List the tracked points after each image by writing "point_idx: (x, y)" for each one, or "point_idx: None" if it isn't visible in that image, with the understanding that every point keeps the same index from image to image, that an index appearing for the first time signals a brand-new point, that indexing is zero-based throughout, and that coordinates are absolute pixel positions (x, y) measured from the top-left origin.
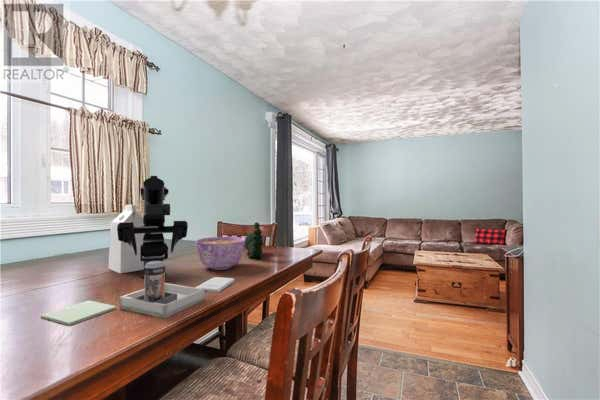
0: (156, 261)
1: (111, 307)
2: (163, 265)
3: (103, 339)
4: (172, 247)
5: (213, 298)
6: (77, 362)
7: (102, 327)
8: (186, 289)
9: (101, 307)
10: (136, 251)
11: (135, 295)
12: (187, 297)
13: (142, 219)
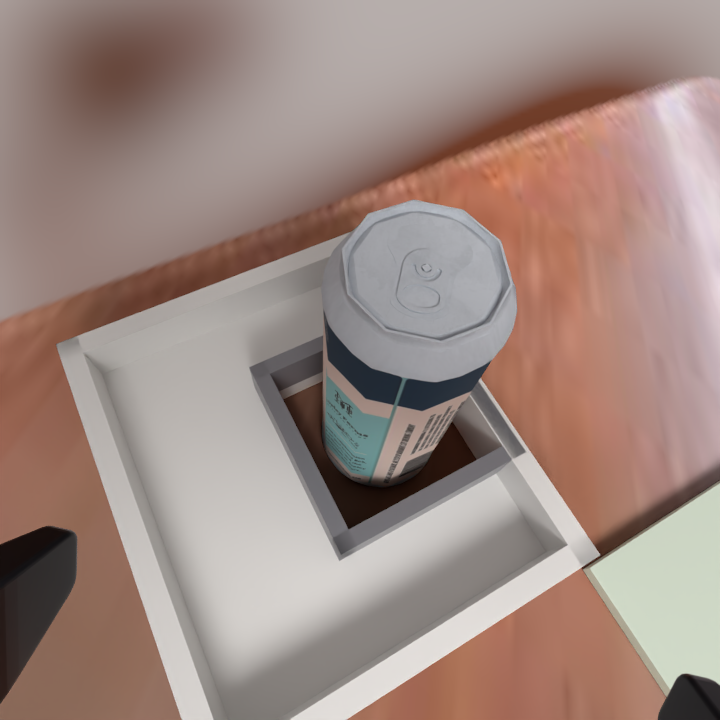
0: (396, 322)
1: (615, 562)
2: (347, 237)
3: (601, 223)
4: (2, 555)
5: (32, 367)
6: (649, 134)
7: (620, 330)
8: (130, 478)
9: (676, 609)
10: (707, 695)
11: (485, 593)
12: (222, 284)
13: None
